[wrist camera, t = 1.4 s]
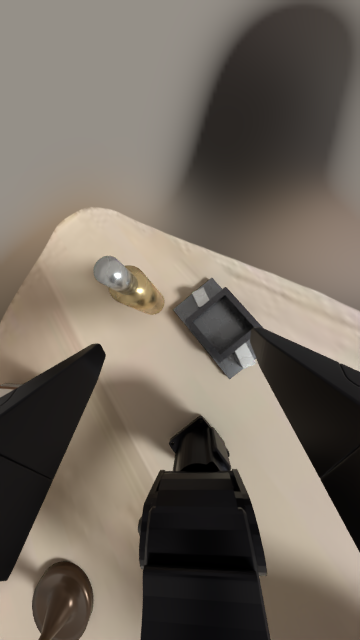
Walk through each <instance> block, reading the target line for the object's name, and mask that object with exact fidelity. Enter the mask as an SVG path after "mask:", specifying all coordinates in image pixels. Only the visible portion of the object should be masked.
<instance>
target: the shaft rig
mask: <svg viewBox="0 0 360 640" xmlns="http://www.w3.org/2000/svg"><path fill="white" fill-rule="evenodd" d="M173 310H174V311H175V313H176V314H177V315H178V316H179V318H180V319H181V320H182V321H183V322H184V324H185V325H186V326H187V327H188V329H189V330H190V331H191V332H192V334H193V335H194V336H195V337H196V338H197V340H198V341H199V342H200V343H201V345H202V346H203V347H204V348H205V350H206V351H207V352H208V353H209V354H210V356H211V357H212V358H213V359H214V361H215V362H216V363H217V364H218V366H219V367H220V368H221V369H222V370H223V372H224V373H225V374H226V375H227V377H228V378H229V379H231V378H232V377H233V376H234V375H236V374H237V373H238V372H240V371H241V370H242V369H245V368H247V367H249V366H252V365H254V364H256V362H255V359H256V356H255V354H254V351H253V349H252V346H251V343H250V335H251V329H252V328H255V327H261V328H263V327H262V326H261V325H260V324H259V323H258V322H257V321H256V320H255V318H254V317H253V316H252V315H251V314H250V313H249V312H248V311H247V310H246V308H245V307H244V306H243V305H242V304H241V303H240V302H239V301H238V300H237V299H236V297H235V296H234V295H233V294H232V293H231V292H230V291H229V290H228V289H227V288H226V287H225V288H224V289H222V288H221V287H220V286H219V285H218V284H217V283H216V282H215V280H214V279H213V278H211V279H210V280H208V281H207V282H206V283H205V284H204V285H202V286H201V287H200V288H199V289H197V290H196V291H194V292H192V294H191V295H190V296H189V297H188V298H187V299H185V300H184V301H183V302H182V303H180V304H179V305H178V306H177V307H176V308H174V309H173Z"/></svg>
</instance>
